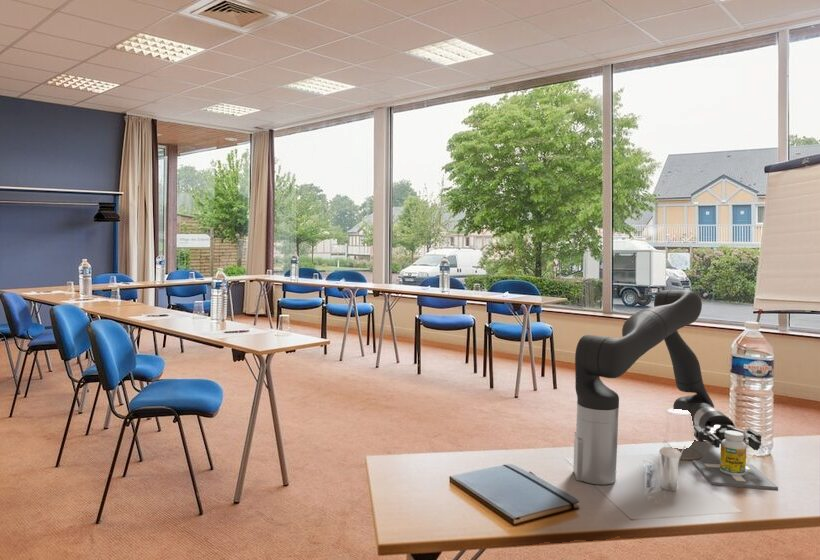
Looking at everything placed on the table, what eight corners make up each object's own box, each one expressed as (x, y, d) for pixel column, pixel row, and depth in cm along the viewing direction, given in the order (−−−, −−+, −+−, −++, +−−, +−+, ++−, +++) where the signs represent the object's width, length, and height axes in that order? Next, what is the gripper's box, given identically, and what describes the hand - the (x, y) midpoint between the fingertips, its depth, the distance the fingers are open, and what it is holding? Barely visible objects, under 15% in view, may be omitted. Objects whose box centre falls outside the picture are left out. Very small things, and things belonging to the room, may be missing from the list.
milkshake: (685, 493, 131) (687, 448, 130) (660, 491, 132) (661, 446, 132) (680, 485, 135) (682, 442, 135) (656, 483, 137) (657, 440, 136)
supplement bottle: (742, 469, 144) (744, 430, 143) (747, 477, 139) (749, 437, 138) (717, 466, 145) (719, 428, 145) (721, 474, 140) (724, 434, 140)
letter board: (711, 484, 136) (712, 481, 136) (692, 462, 150) (692, 459, 150) (778, 489, 134) (778, 486, 134) (752, 466, 148) (752, 464, 148)
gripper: (685, 408, 157) (706, 427, 141) (743, 412, 154) (771, 431, 138) (684, 436, 157) (704, 458, 141) (741, 440, 155) (769, 462, 139)
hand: (737, 445), depth 140 cm, fingers open, 8 cm apart
